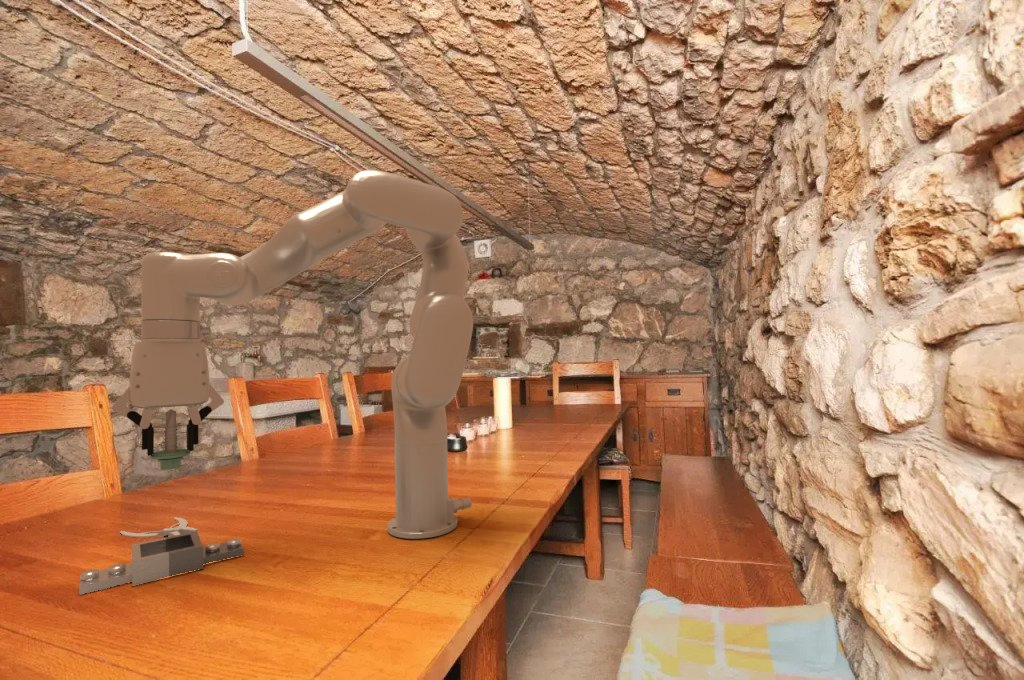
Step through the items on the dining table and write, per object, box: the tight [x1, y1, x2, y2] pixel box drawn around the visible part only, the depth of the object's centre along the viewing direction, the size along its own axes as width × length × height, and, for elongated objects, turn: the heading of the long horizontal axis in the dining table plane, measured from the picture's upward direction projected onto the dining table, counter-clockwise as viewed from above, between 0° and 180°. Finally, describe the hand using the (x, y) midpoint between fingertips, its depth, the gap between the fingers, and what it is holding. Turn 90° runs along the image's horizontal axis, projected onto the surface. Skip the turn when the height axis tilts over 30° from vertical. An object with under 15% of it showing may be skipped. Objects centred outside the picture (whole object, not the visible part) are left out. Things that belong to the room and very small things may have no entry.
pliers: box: [119, 516, 199, 537], centre depth 92 cm, size 10×2×15 cm
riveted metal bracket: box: [78, 531, 245, 596], centre depth 76 cm, size 20×8×4 cm, turn 128°
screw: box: [150, 408, 191, 471], centre depth 77 cm, size 9×5×5 cm
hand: (170, 450), depth 77 cm, fingers closed on screw, 4 cm apart
